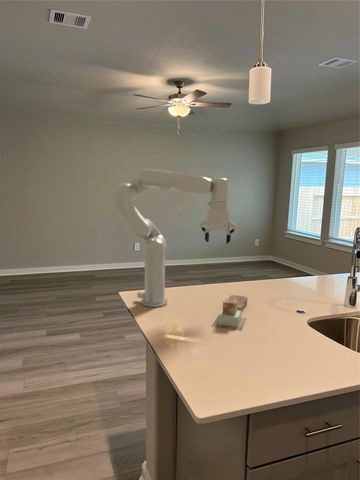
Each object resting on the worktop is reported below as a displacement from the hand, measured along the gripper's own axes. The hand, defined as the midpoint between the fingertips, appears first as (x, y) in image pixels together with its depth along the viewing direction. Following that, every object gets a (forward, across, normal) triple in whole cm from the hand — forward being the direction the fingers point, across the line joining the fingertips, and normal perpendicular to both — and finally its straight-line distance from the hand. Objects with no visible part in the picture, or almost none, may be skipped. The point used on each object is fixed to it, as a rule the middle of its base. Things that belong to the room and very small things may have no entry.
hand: (217, 242), depth 168 cm
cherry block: (+25, +11, -22) cm, 35 cm away
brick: (+31, +10, -2) cm, 33 cm away
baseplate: (+30, +11, -22) cm, 39 cm away
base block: (+29, +11, -22) cm, 38 cm away
